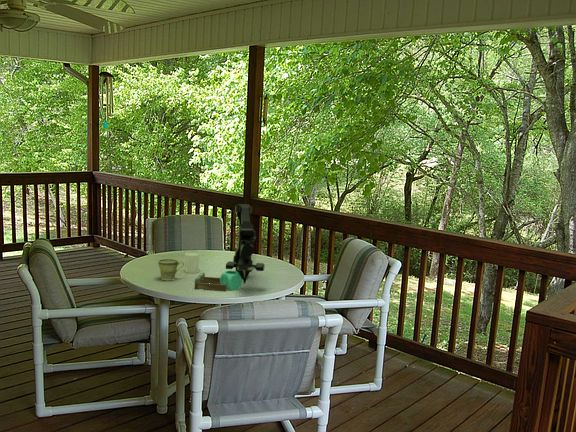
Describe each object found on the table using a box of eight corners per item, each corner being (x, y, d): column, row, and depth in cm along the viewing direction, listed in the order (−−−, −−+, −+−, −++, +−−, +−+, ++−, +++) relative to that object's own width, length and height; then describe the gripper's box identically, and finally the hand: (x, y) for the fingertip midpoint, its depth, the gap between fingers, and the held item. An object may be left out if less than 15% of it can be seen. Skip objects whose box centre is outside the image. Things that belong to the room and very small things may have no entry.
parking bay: (201, 282, 285) (201, 272, 284) (231, 284, 284) (231, 274, 283) (194, 289, 271) (194, 279, 271) (225, 291, 270) (226, 281, 269)
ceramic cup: (158, 282, 281) (158, 262, 280) (157, 277, 290) (157, 258, 289) (184, 281, 284) (184, 262, 283) (182, 276, 294) (183, 258, 293)
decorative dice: (232, 285, 282) (233, 269, 281) (242, 288, 276) (242, 273, 275) (219, 287, 277) (220, 271, 276) (229, 291, 271) (229, 275, 270)
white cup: (181, 271, 306) (182, 253, 304) (193, 269, 311) (193, 252, 310) (189, 274, 300) (190, 256, 299) (201, 272, 306) (202, 254, 304)
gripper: (224, 254, 267) (223, 286, 269) (262, 256, 265) (261, 288, 267) (228, 250, 278) (227, 280, 280) (265, 252, 276) (264, 282, 278)
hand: (244, 283), depth 276 cm, fingers closed
